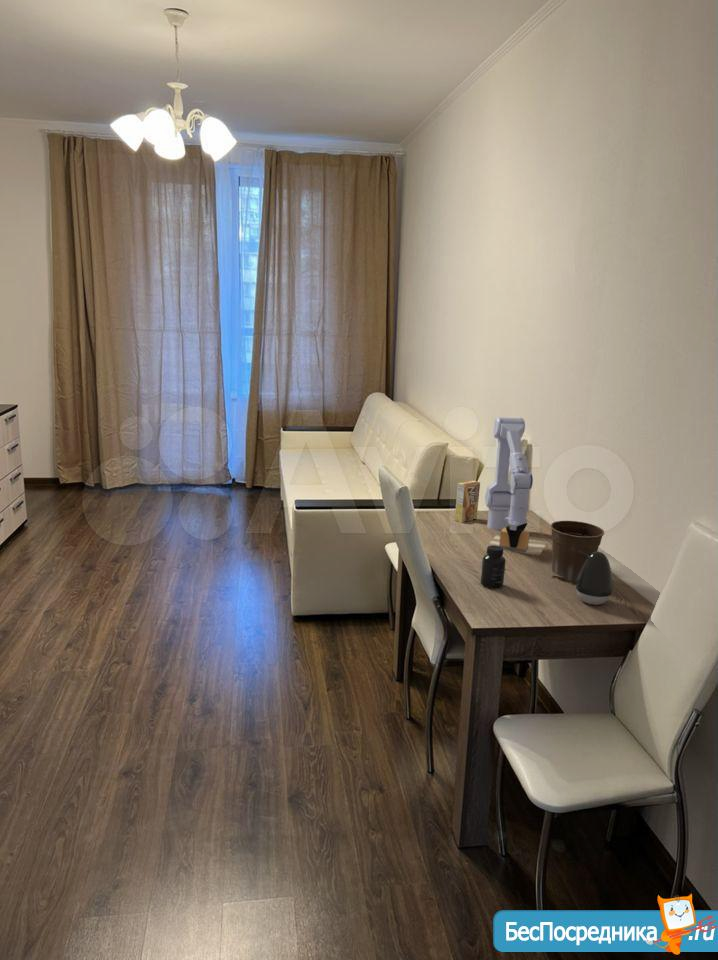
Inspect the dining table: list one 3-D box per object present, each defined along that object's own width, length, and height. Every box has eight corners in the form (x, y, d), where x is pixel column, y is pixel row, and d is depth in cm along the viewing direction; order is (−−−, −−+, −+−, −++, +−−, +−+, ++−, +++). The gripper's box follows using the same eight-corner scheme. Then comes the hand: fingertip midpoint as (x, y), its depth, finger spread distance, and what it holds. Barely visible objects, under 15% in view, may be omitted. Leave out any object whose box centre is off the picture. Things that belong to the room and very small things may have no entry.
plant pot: (601, 589, 224) (607, 538, 220) (546, 583, 226) (552, 533, 223) (594, 570, 239) (600, 523, 236) (543, 565, 242) (549, 518, 238)
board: (496, 538, 268) (496, 534, 268) (546, 546, 262) (547, 542, 261) (486, 550, 254) (486, 546, 254) (539, 559, 247) (539, 555, 247)
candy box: (469, 517, 294) (472, 479, 290) (477, 519, 291) (480, 482, 287) (454, 520, 288) (457, 482, 285) (462, 523, 285) (465, 484, 282)
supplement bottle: (476, 582, 224) (479, 544, 222) (495, 580, 227) (498, 543, 224) (488, 590, 218) (491, 552, 215) (507, 588, 221) (511, 550, 218)
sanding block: (502, 543, 257) (503, 527, 256) (528, 548, 254) (529, 531, 253) (499, 547, 253) (500, 531, 251) (525, 552, 249) (527, 535, 248)
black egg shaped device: (577, 591, 221) (583, 543, 217) (613, 599, 216) (620, 550, 212) (569, 603, 212) (575, 553, 208) (606, 611, 207) (613, 560, 203)
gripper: (511, 500, 258) (507, 537, 261) (502, 510, 245) (498, 548, 248) (531, 503, 255) (527, 540, 258) (523, 513, 242) (519, 552, 245)
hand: (514, 544), depth 253 cm, fingers closed on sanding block, 5 cm apart
